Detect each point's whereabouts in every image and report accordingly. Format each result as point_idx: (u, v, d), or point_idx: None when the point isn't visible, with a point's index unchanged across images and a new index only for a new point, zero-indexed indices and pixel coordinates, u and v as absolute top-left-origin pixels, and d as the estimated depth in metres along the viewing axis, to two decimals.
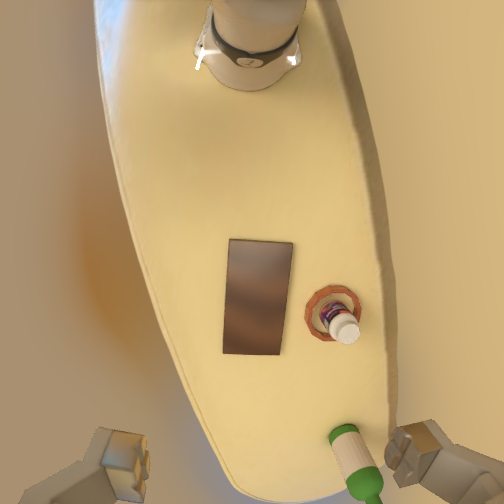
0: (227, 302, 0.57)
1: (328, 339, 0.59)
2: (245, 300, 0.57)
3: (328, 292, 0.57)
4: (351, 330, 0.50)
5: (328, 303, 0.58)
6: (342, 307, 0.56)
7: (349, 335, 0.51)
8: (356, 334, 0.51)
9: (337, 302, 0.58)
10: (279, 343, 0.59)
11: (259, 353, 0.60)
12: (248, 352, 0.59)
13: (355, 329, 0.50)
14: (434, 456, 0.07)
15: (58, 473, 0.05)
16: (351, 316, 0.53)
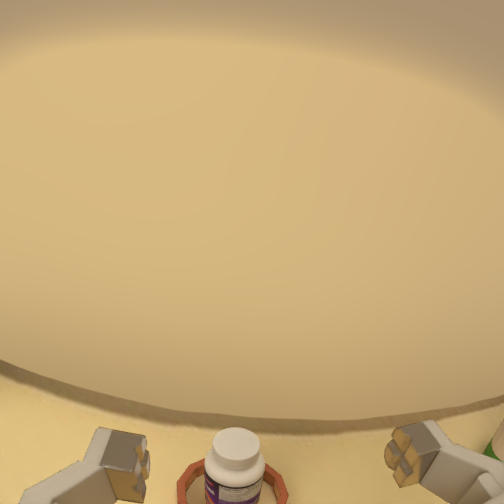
0: None
1: None
2: None
3: (180, 488, 0.24)
4: (228, 438, 0.23)
5: (205, 496, 0.24)
6: None
7: (238, 443, 0.23)
8: (241, 433, 0.24)
9: None
10: None
11: None
12: None
13: (229, 432, 0.24)
14: (434, 456, 0.07)
15: (58, 473, 0.05)
16: None
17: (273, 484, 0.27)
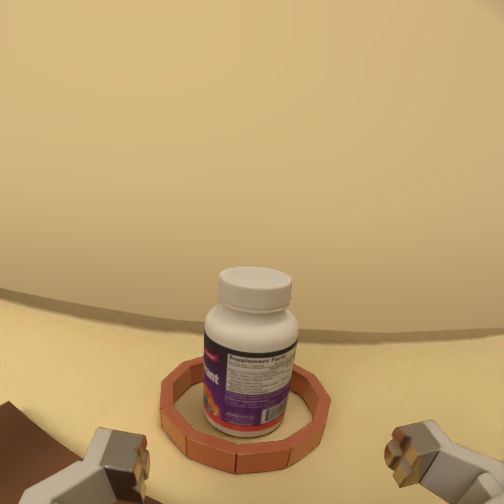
0: None
1: (321, 414, 0.17)
2: None
3: (165, 388, 0.19)
4: (243, 272, 0.18)
5: (204, 404, 0.19)
6: None
7: (258, 276, 0.17)
8: (262, 269, 0.19)
9: None
10: None
11: None
12: None
13: (244, 269, 0.19)
14: (434, 456, 0.07)
15: (58, 473, 0.05)
16: None
17: (304, 391, 0.21)
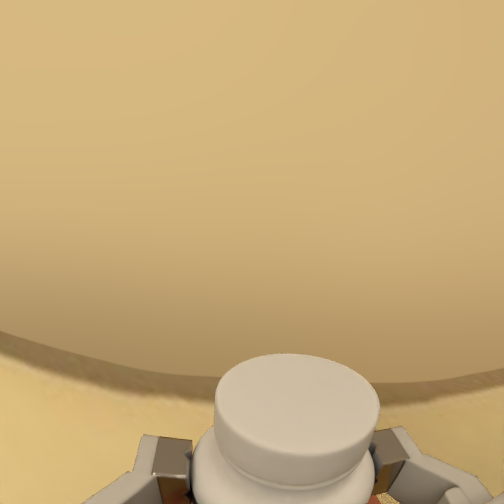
0: None
1: None
2: None
3: None
4: (270, 381, 0.07)
5: None
6: None
7: (306, 395, 0.07)
8: (309, 366, 0.08)
9: None
10: None
11: None
12: None
13: (271, 366, 0.08)
14: (400, 466, 0.07)
15: (109, 486, 0.05)
16: None
17: None
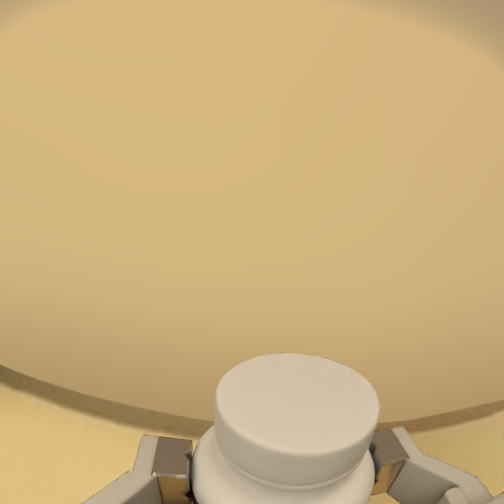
0: None
1: None
2: None
3: None
4: (271, 381, 0.07)
5: None
6: None
7: (306, 394, 0.07)
8: (309, 365, 0.08)
9: None
10: None
11: None
12: None
13: (272, 366, 0.08)
14: (400, 466, 0.07)
15: (108, 486, 0.05)
16: None
17: None
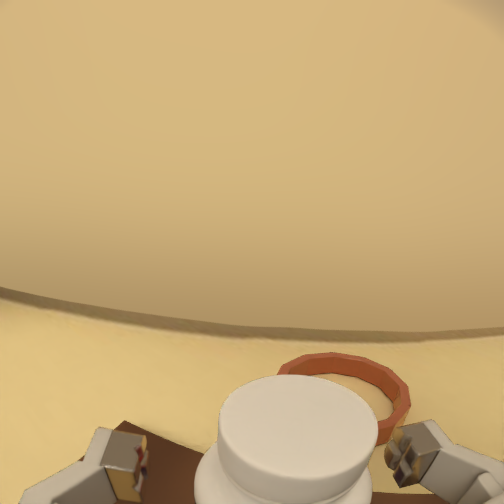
0: None
1: (405, 397, 0.20)
2: None
3: None
4: (272, 405, 0.07)
5: None
6: None
7: (307, 418, 0.07)
8: (310, 387, 0.08)
9: None
10: (428, 497, 0.11)
11: None
12: None
13: (273, 388, 0.08)
14: (434, 456, 0.07)
15: (58, 473, 0.05)
16: None
17: (381, 382, 0.25)
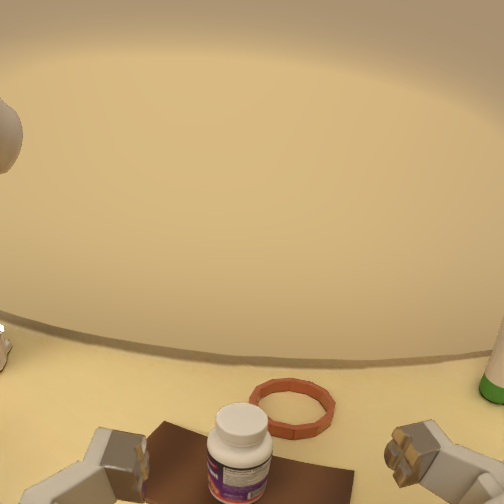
0: None
1: (331, 410, 0.35)
2: None
3: (252, 402, 0.37)
4: (233, 413, 0.22)
5: (208, 483, 0.23)
6: None
7: (243, 418, 0.22)
8: (247, 407, 0.23)
9: None
10: (329, 469, 0.26)
11: (346, 497, 0.22)
12: None
13: (234, 407, 0.23)
14: (434, 456, 0.07)
15: (58, 473, 0.05)
16: None
17: (321, 399, 0.39)
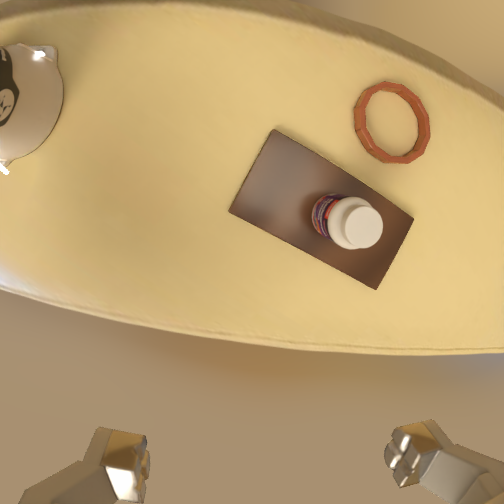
0: (313, 252, 0.39)
1: (423, 146, 0.36)
2: None
3: (361, 113, 0.35)
4: (359, 221, 0.28)
5: (313, 218, 0.37)
6: (324, 205, 0.33)
7: (366, 228, 0.28)
8: (371, 215, 0.28)
9: (317, 205, 0.36)
10: (399, 211, 0.38)
11: (399, 243, 0.39)
12: (391, 257, 0.40)
13: (361, 213, 0.28)
14: (434, 456, 0.07)
15: (58, 473, 0.05)
16: (340, 205, 0.30)
17: (420, 119, 0.36)
